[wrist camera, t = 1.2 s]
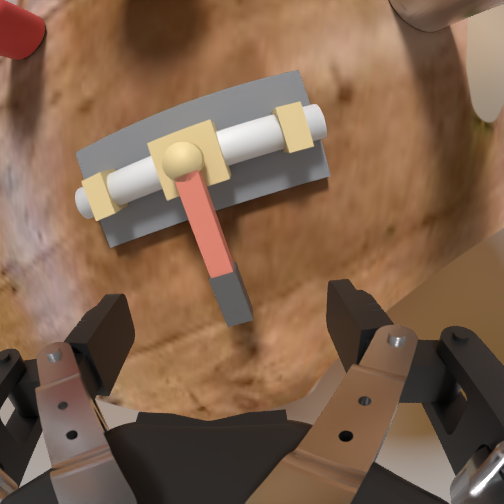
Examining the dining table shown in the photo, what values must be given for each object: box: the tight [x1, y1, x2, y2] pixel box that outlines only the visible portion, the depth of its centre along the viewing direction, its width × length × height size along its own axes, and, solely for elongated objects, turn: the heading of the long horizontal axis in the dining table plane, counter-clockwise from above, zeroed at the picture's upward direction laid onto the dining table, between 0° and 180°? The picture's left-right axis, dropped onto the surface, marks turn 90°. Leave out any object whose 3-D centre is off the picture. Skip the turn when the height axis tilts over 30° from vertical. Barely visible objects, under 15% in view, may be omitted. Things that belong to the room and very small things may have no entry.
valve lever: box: [162, 142, 253, 327], centre depth 26 cm, size 17×3×2 cm, turn 17°
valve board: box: [75, 70, 331, 248], centre depth 29 cm, size 26×12×7 cm, turn 107°
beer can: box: [0, 0, 45, 60], centre depth 19 cm, size 7×7×12 cm
